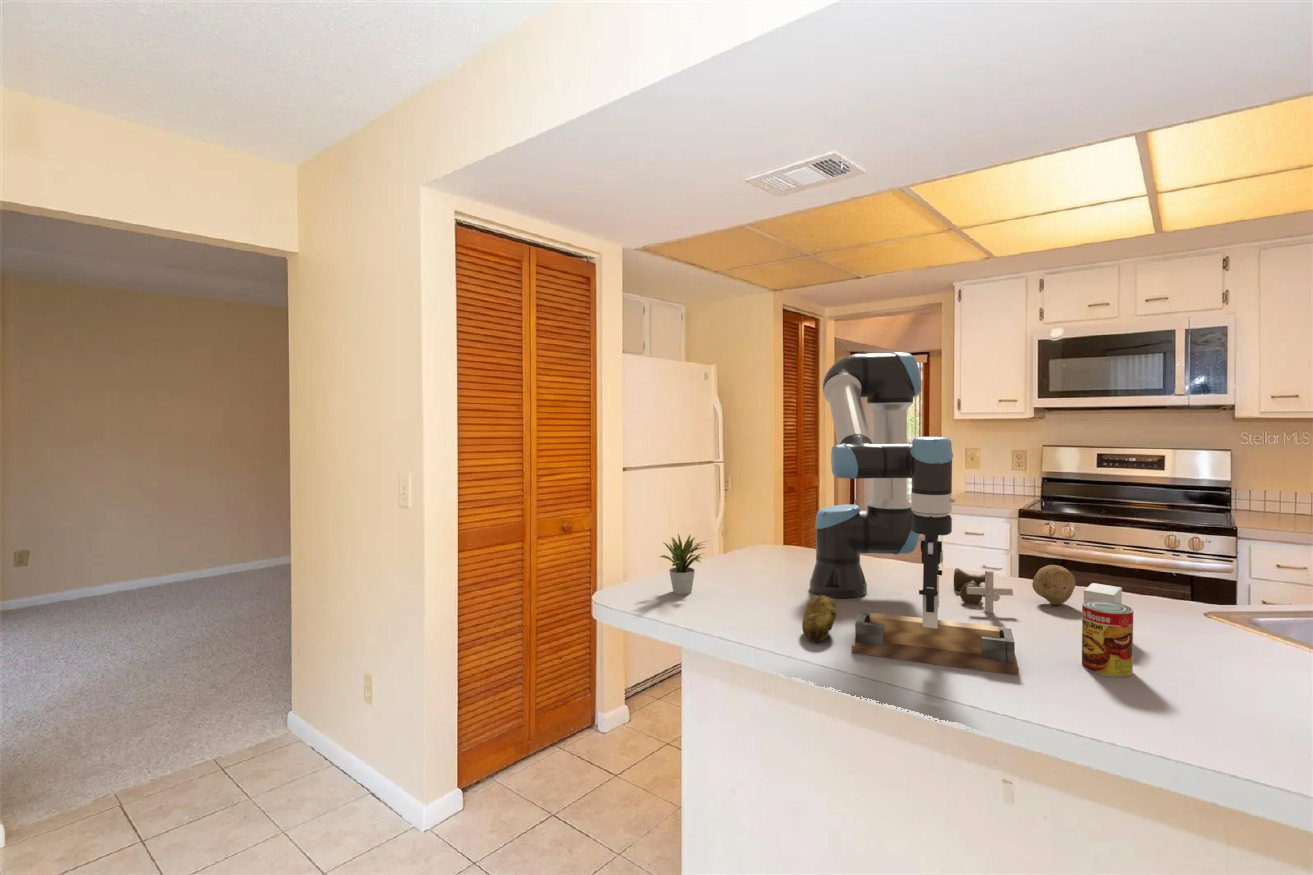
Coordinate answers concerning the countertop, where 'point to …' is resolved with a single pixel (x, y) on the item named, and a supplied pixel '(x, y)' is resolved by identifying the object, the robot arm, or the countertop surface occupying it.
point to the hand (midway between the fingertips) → (931, 616)
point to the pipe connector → (989, 591)
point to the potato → (819, 617)
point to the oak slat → (934, 633)
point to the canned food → (1107, 638)
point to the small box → (1103, 593)
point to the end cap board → (994, 650)
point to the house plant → (682, 565)
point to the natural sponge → (1054, 584)
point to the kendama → (968, 585)
